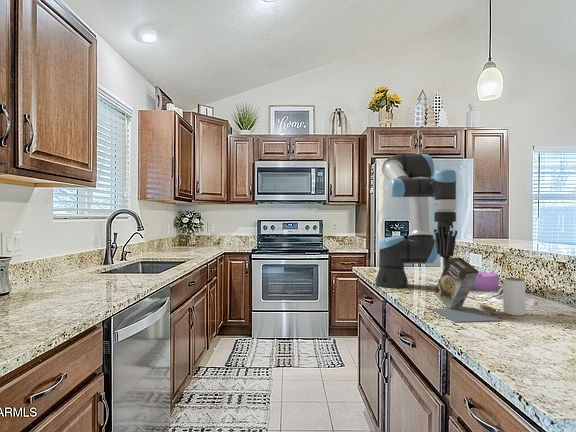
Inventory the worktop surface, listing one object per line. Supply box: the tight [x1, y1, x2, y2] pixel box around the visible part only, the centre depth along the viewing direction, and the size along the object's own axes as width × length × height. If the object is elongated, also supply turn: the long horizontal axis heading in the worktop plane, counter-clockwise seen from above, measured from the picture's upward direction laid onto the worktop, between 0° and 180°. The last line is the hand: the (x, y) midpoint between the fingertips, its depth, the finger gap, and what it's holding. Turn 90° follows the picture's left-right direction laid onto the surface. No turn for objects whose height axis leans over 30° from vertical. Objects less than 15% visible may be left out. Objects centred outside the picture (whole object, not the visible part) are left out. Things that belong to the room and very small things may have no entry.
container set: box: [470, 271, 500, 292], centre depth 177 cm, size 25×15×13 cm, turn 88°
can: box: [502, 277, 526, 317], centre depth 131 cm, size 6×6×12 cm
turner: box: [479, 304, 516, 320], centre depth 132 cm, size 15×4×1 cm, turn 6°
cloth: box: [478, 287, 537, 307], centre depth 153 cm, size 22×19×6 cm
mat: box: [431, 307, 503, 324], centre depth 129 cm, size 16×16×1 cm
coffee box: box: [433, 257, 480, 309], centre depth 137 cm, size 9×6×16 cm
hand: (445, 274), depth 142 cm, fingers closed
